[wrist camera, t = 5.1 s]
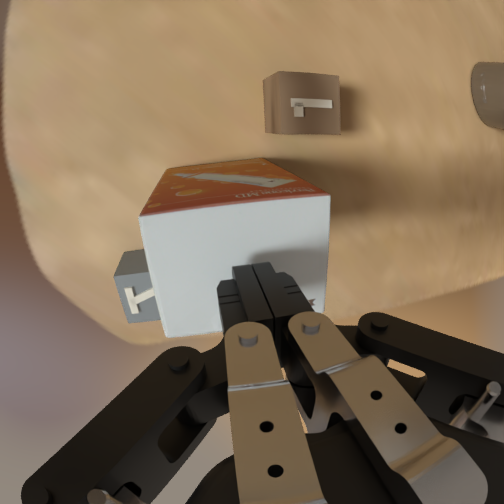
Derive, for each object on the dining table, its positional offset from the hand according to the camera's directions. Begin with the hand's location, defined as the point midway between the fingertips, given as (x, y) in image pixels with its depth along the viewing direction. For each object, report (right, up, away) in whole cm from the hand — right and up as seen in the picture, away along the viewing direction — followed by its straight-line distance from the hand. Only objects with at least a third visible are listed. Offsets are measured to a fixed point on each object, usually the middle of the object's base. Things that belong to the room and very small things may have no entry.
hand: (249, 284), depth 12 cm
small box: (-3, +6, +12) cm, 14 cm away
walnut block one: (+3, +13, +10) cm, 17 cm away
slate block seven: (-9, 0, +14) cm, 16 cm away
